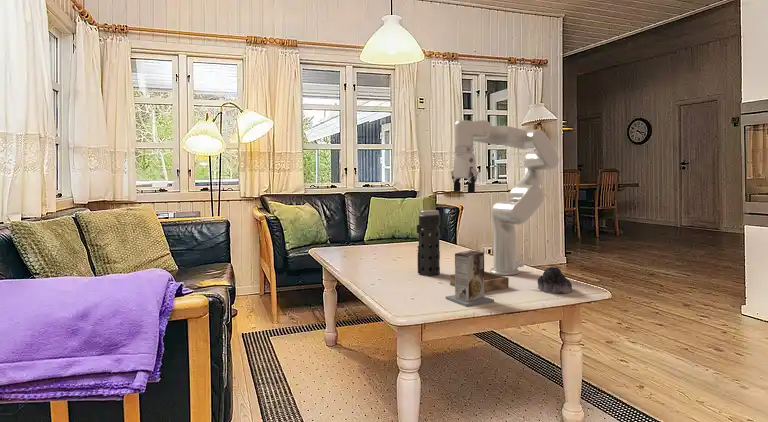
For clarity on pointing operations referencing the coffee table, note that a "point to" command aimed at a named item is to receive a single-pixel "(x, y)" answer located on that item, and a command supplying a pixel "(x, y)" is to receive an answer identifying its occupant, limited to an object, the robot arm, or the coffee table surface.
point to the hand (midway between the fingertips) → (464, 192)
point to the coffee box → (469, 275)
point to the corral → (489, 281)
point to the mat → (470, 303)
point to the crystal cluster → (554, 281)
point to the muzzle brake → (429, 243)
